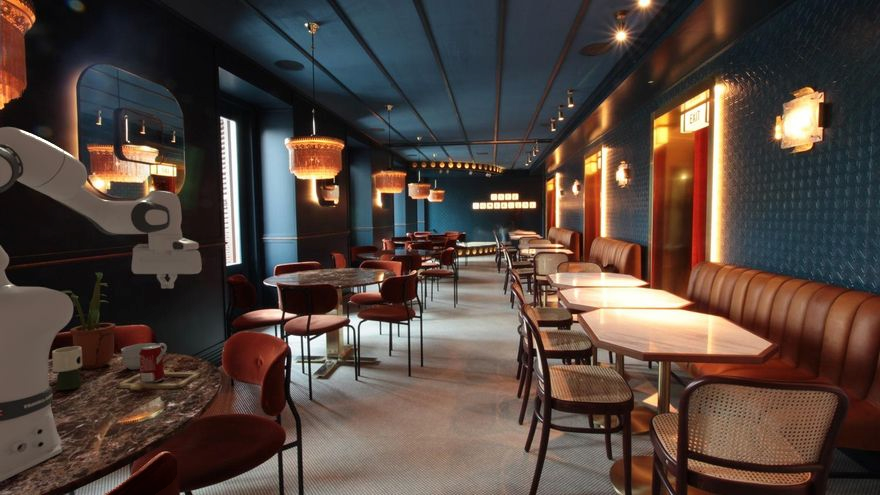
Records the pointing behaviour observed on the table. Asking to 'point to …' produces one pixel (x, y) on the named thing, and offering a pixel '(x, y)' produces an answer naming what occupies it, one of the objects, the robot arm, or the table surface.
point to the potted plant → (93, 332)
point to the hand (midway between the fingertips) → (167, 288)
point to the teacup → (134, 355)
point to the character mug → (67, 367)
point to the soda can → (151, 363)
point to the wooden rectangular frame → (167, 373)
